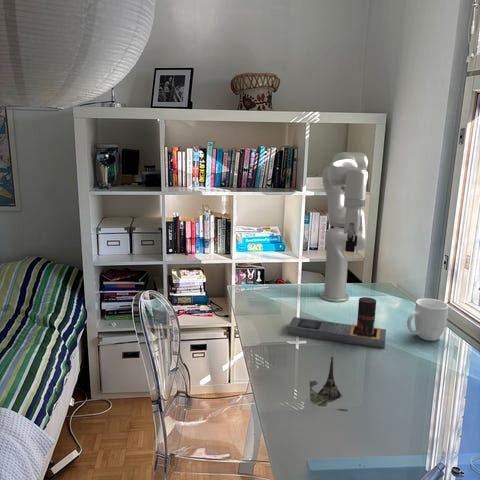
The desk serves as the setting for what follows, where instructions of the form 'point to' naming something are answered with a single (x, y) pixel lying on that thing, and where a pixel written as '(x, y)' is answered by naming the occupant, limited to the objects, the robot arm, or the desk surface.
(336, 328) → the holder
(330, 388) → the eiffel tower figurine
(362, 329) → the deodorant
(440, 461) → the desk surface
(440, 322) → the mug
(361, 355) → the desk surface
